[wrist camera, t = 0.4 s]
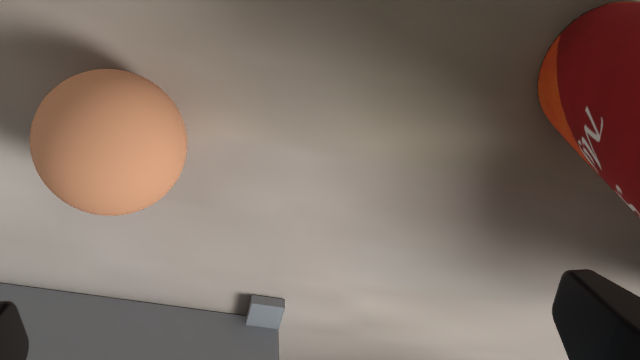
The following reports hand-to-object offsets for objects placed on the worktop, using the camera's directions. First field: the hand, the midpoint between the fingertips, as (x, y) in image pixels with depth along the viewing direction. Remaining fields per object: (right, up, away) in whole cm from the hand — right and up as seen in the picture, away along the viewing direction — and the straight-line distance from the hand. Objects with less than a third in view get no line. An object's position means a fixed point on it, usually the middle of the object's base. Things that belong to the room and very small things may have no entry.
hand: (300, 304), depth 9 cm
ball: (-7, +5, +12) cm, 14 cm away
